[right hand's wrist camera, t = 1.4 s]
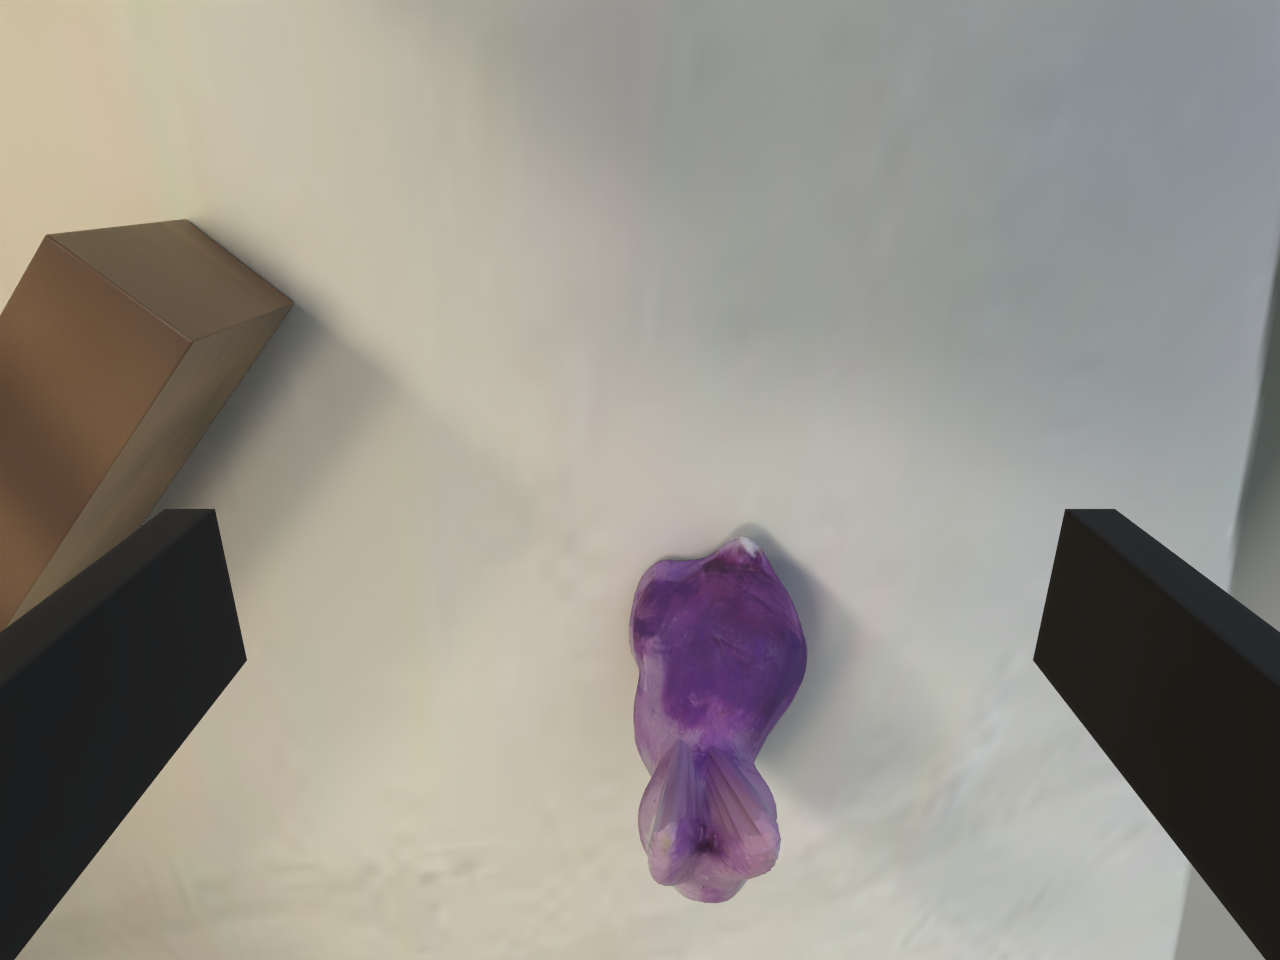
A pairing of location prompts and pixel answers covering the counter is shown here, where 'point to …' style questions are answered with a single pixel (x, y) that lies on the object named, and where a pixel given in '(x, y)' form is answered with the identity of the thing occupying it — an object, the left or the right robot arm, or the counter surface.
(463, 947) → the counter surface
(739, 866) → the figurine
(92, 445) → the bar
